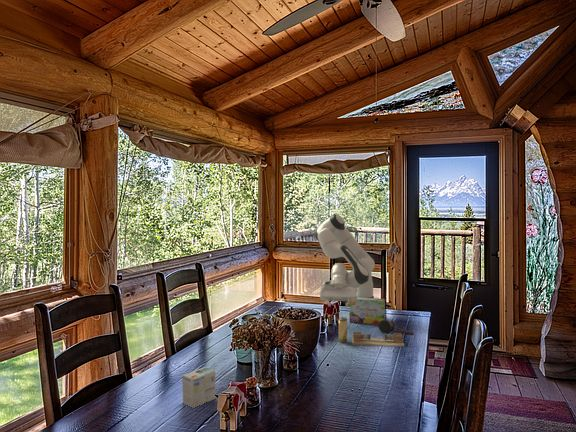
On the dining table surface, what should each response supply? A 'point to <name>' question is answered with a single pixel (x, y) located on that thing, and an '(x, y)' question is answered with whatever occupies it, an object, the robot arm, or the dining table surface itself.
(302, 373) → the dining table surface
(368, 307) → the snack box
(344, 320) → the coupler
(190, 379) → the light bulb box
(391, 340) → the shaft rig
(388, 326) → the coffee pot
